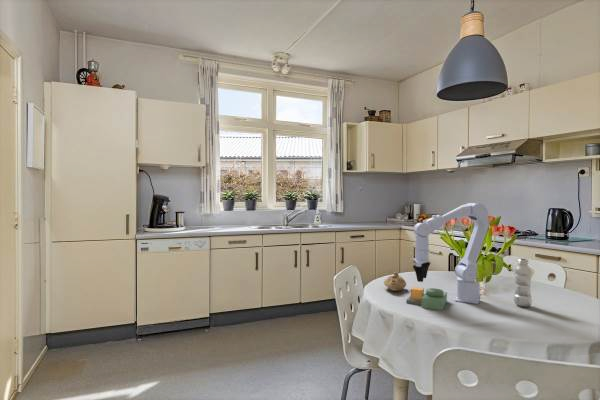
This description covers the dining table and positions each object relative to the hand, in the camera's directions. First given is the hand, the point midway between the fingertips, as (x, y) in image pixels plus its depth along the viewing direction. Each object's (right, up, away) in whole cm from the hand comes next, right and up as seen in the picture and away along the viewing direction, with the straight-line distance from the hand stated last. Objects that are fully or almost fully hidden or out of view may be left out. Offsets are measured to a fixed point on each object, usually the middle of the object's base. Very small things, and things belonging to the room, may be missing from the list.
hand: (421, 279), depth 162 cm
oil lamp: (-8, -9, +17) cm, 21 cm away
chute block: (-3, -9, -2) cm, 10 cm away
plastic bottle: (+40, -10, -9) cm, 42 cm away
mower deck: (0, -9, -4) cm, 10 cm away
